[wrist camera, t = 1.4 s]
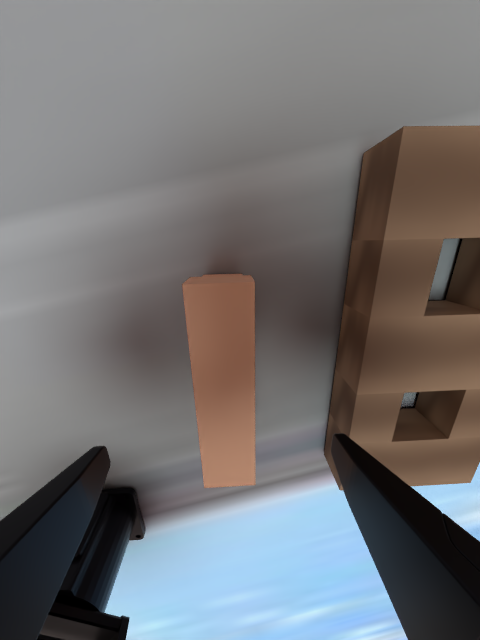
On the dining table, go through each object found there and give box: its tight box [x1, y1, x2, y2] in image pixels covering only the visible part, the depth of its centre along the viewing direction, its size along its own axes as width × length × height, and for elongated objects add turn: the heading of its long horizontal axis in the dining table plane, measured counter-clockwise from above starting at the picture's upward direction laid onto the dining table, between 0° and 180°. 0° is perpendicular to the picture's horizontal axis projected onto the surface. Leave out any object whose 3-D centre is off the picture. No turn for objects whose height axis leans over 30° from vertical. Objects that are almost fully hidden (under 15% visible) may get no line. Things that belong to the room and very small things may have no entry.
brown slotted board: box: [324, 126, 480, 490], centre depth 15 cm, size 22×10×3 cm, turn 1°
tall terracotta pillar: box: [182, 274, 255, 488], centre depth 14 cm, size 12×3×5 cm, turn 1°
